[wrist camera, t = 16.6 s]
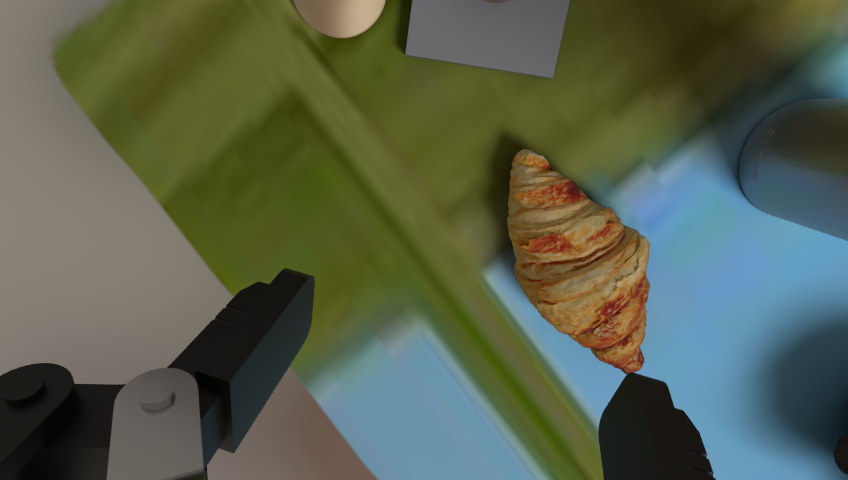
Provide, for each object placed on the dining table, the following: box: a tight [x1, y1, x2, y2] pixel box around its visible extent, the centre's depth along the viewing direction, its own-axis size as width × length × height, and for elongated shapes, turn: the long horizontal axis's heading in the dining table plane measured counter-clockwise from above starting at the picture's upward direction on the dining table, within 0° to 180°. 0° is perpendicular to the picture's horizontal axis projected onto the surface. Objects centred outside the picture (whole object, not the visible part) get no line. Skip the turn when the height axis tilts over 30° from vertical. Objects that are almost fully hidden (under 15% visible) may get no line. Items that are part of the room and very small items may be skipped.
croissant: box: [507, 149, 650, 374], centre depth 36 cm, size 21×10×8 cm, turn 31°
